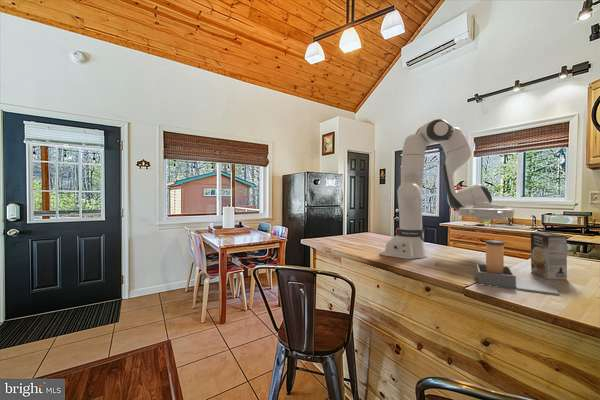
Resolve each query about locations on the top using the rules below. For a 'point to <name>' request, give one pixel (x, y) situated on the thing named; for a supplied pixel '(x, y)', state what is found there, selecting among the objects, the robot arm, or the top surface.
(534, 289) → the mailer box
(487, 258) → the lidded coffee cup
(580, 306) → the top surface
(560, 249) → the coffee box
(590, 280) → the top surface
